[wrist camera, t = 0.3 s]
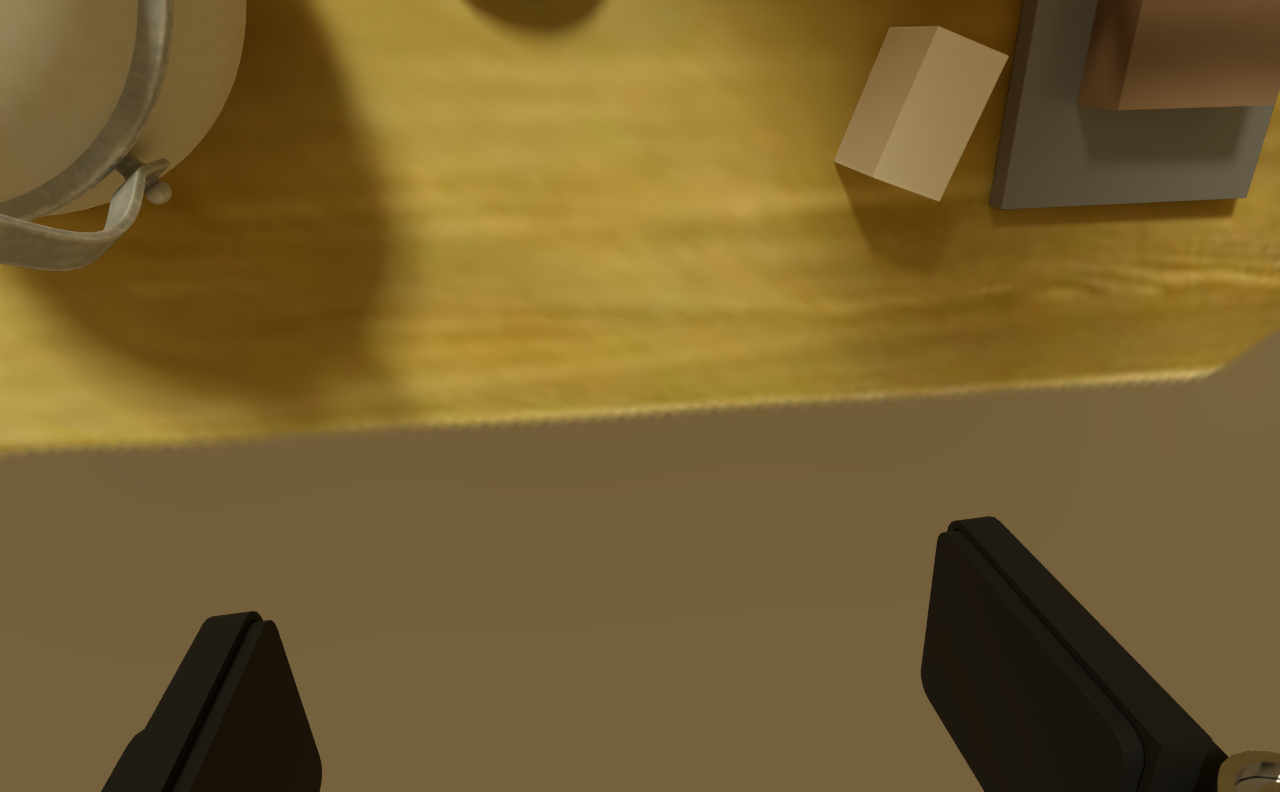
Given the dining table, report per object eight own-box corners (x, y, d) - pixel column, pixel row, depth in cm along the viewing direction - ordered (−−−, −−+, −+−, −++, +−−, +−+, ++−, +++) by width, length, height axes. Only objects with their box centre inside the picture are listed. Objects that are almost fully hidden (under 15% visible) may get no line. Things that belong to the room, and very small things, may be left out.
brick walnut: (1104, -33, 36) (1151, -39, 33) (1260, -35, 37) (1318, -41, 34) (1076, 105, 38) (1117, 110, 36) (1223, 100, 39) (1274, 105, 37)
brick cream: (888, 27, 37) (938, 25, 33) (952, 53, 38) (1009, 56, 33) (832, 161, 39) (872, 177, 35) (893, 183, 40) (939, 201, 36)
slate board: (1050, -158, 35) (1067, -165, 34) (1331, -156, 36) (1356, -162, 35) (989, 205, 41) (1001, 209, 40) (1228, 193, 43) (1245, 197, 42)
